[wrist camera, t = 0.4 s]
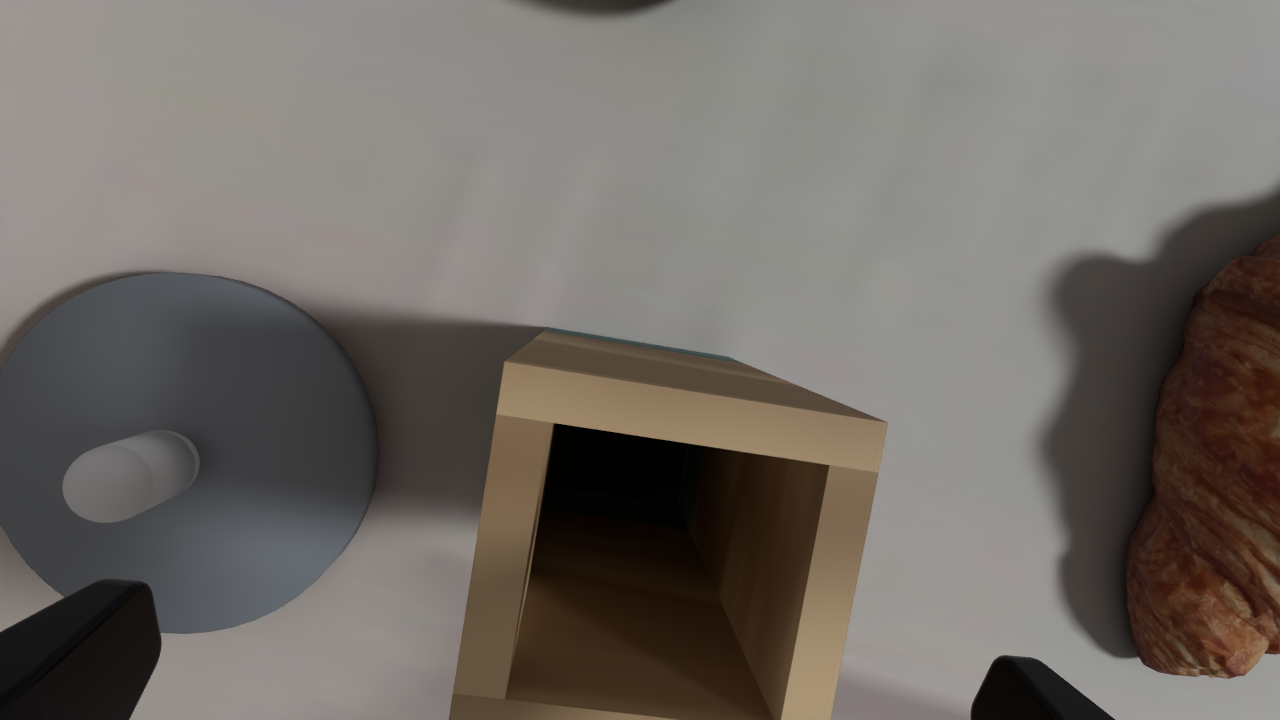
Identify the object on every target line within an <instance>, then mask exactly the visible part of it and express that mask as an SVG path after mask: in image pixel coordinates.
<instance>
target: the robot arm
mask: <svg viewBox="0 0 1280 720" xmlns="http://www.w3.org/2000/svg"><path fill="white" fill-rule="evenodd" d="M160 652H161V634H160V629H159V624H158V618H157V613H156V608H155V603H154V597H153V593H152V590H151V588H150V587H149V585H148V584H147V583H144V582H142V581H133V580H121V579H110V578H109V579H102V580H98V581H96V582H94V583H91V584H89V585H88V586H86V587H84V588H82V589H80V590H78V591H76V592H74V593H73V594H71V595H69V596H67V597H65V598H63V599H61V600H59V601H58V602H56V603H54V604H52V605H50V606H48V607H46V608H44V609H43V610H41V611H39V612H37V613H35V614H33V615H31V616H29V617H28V618H26V619H24V620H22V621H20V622H18V623H16V624H14V625H13V626H11V627H9V628H7V629H5V630H3V631H1V632H0V720H129V719H130V717H131V715H132V713H133V711H134V709H135V707H136V705H137V703H138V701H139V699H140V697H141V695H142V693H143V691H144V689H145V687H146V685H147V683H148V681H149V679H150V677H151V675H152V673H153V671H154V669H155V667H156V665H157V662H158V659H159V656H160ZM971 720H1115V719H1114V718H1112V717H1111V716H1110V715H1109V714H1107V713H1106V712H1105V711H1103V710H1102V709H1101V708H1100V707H1098V706H1097V705H1096V704H1095V703H1093V702H1092V701H1091V700H1090V699H1088V698H1087V697H1086V696H1084V695H1083V694H1082V693H1081V692H1079V691H1078V690H1077V689H1076V688H1074V687H1073V686H1072V685H1070V684H1069V683H1068V682H1067V681H1065V680H1064V679H1063V678H1062V677H1060V676H1059V675H1058V674H1057V673H1055V672H1054V671H1053V670H1051V669H1050V668H1049V667H1048V666H1046V665H1045V664H1044V663H1042V662H1041V661H1039V660H1037V659H1034V658H1031V657H1019V656H1008V655H1003V656H999V657H998V658H996V659H995V660H994V661H993V663H992V664H991V666H990V668H989V670H988V672H987V674H986V676H985V678H984V681H983V683H982V685H981V687H980V689H979V691H978V693H977V695H976V697H975V699H974V701H973V704H972V708H971Z"/></svg>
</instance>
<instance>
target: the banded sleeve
mask: <svg viewBox="0 0 1280 720" xmlns="http://www.w3.org/2000/svg"><path fill="white" fill-rule="evenodd" d="M558 424H564V425H571V426H577V427H584V428H590V429H597V430H603V431H610V432H616V433H623V434H630V435H636V436H643V437H649V438H656V439H662V440H669V441H675V442H682V443H688V449H687V455H686V461H685V466H684V472H683V478H682V483H681V489H680V495H679V500H678V505H673V504H666V503H659V502H652V501H645V500H638V499H631V498H624V497H617V496H610V495H603V494H597V493H590V492H583V491H576V490H569V489H562V488H555V487H548V480H549V474H550V468H551V462H552V456H553V450H554V443H555V437H556V431H557V425H558ZM887 427H888V422H885V421H883V420H880V419H878V418H875V417H873V416H870V415H868V414H866V413H863V412H861V411H858V410H856V409H853V408H851V407H849V406H846V405H844V404H841V403H839V402H836V401H834V400H832V399H829V398H827V397H824V396H822V395H819V394H817V393H814V392H812V391H810V390H807V389H805V388H802V387H800V386H797V385H795V384H793V383H790V382H788V381H785V380H783V379H780V378H778V377H775V376H773V375H771V374H768V373H766V372H763V371H761V370H758V369H756V368H754V367H751V366H749V365H746V364H744V363H741V362H739V361H737V360H734V359H732V358H729V357H725V356H719V355H713V354H707V353H701V352H695V351H689V350H683V349H677V348H670V347H664V346H658V345H652V344H646V343H640V342H634V341H628V340H622V339H616V338H610V337H604V336H598V335H592V334H586V333H579V332H573V331H567V330H561V329H555V328H549V327H548V328H547V329H545V330H544V331H543V332H542V333H540V334H539V335H538V336H536V337H535V338H534V339H533V340H531V341H530V342H529V343H528V344H526V345H525V346H524V347H522V348H521V349H520V350H519V351H517V352H516V353H515V354H513V355H512V356H511V357H510V358H508V359H507V360H506V361H505V362H504V368H503V374H502V380H501V387H500V393H499V400H498V406H497V413H496V419H495V426H494V432H493V438H492V445H491V451H490V458H489V464H488V471H487V477H486V484H485V490H484V496H483V503H482V509H481V516H480V522H479V529H478V535H477V542H476V548H475V554H474V561H473V567H472V574H471V580H470V587H469V593H468V600H467V606H466V612H465V619H464V625H463V632H462V638H461V645H460V651H459V658H458V664H457V670H456V677H455V683H454V690H453V696H452V703H451V709H450V716H449V720H830V717H831V712H832V706H833V701H834V696H835V691H836V686H837V681H838V676H839V671H840V666H841V661H842V656H843V651H844V645H845V640H846V635H847V630H848V625H849V620H850V615H851V610H852V605H853V600H854V595H855V590H856V584H857V579H858V574H859V569H860V564H861V559H862V554H863V549H864V544H865V539H866V534H867V528H868V523H869V518H870V513H871V508H872V503H873V498H874V493H875V488H876V483H877V478H878V473H879V467H880V462H881V457H882V452H883V447H884V442H885V437H886V432H887Z"/></svg>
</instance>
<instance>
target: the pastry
mask: <svg viewBox="0 0 1280 720" xmlns="http://www.w3.org/2000/svg"><path fill="white" fill-rule="evenodd" d="M1194 300H1195V301H1194V307H1193V309H1192V311H1191V312H1190V314H1189V316H1188V318H1187V321H1186V325H1185V329H1184V338H1185V341H1184V345H1183V348H1182V351H1181V354H1180V357H1179V358H1178V360H1177V361H1176V363H1175V365H1174V366H1173V367H1172V368H1171V369H1170V371H1169V373H1168V374H1167V376H1166V378H1165V379H1164V382H1163V385H1162V387H1161V388H1160V390H1159V396H1158V400H1157V403H1156V425H1155V429H1154V433H1155V441H1154V444H1153V452H1152V456H1151V463H1152V483H1153V486H1154V495H1153V497H1152V498H1151V499H1150V501H1149V502H1148V503H1147V505H1146V506H1145V508H1144V513H1143V515H1142V516H1141V518H1140V519H1139V521H1138V525H1137V527H1136V529H1135V531H1134V532H1133V533H1132V534H1131V535H1130V539H1129V543H1128V549H1127V561H1126V571H1127V581H1126V588H1127V602H1126V606H1127V609H1128V613H1129V616H1130V626H1131V629H1132V635H1131V639H1132V641H1133V644H1134V645H1135V646H1136V648H1137V654H1138V656H1139V658H1140V659H1141V661H1142V663H1143V664H1144V665H1146V666H1147V667H1149V668H1151V669H1153V670H1155V671H1157V672H1161V673H1166V674H1171V675H1182V676H1193V677H1198V676H1200V675H1208V676H1209V677H1210V678H1213V677H1220V678H1227V679H1230V678H1233V677H1236V676H1244V675H1245V674H1246V673H1247V672H1249V671H1250V670H1251V669H1252V668H1253V667H1254V666H1255V665H1256V664H1257V662H1258V661H1259V660H1260V658H1261V657H1262V656H1263V654H1264V653H1265V654H1274V655H1275V654H1280V234H1278V235H1277V236H1275V237H1273V238H1272V239H1270V240H1268V241H1266V242H1264V243H1263V244H1261V245H1259V246H1258V247H1257V248H1256V249H1255V251H1254V252H1253V253H1252V255H1251V256H1240V257H1236V258H1234V259H1233V260H1232V261H1231V262H1230V263H1229V264H1228V265H1226V266H1225V267H1224V268H1223V269H1222V270H1221V271H1220V272H1219V273H1218V274H1217V276H1214V277H1213V278H1212V279H1211V280H1210V281H1209V282H1208V284H1207V285H1206V286H1204V287H1203V288H1201V289H1200V290H1199V291H1198V292H1197V293H1196V294H1195V297H1194Z"/></svg>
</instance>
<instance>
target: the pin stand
mask: <svg viewBox="0 0 1280 720" xmlns="http://www.w3.org/2000/svg"><path fill="white" fill-rule="evenodd" d="M377 464H378V439H377V427H376V423H375V418H374V413H373V408H372V405H371V402H370V399H369V396H368V394H367V391H366V388H365V385H364V383H363V381H362V380H361V378H360V376H359V374H358V372H357V370H356V368H355V366H354V364H353V363H352V361H351V360H350V358H349V357H348V356H347V354H346V353H345V351H344V350H343V348H342V347H341V346H340V345H339V343H338V342H337V341H336V340H335V339H334V338H333V337H332V336H331V335H330V333H329V332H328V331H327V330H326V329H325V328H324V327H323V326H321V325H320V324H319V323H318V322H317V321H316V320H315V319H313V318H312V317H311V316H310V315H309V314H308V313H306V312H305V311H303V310H302V309H300V308H298V307H297V306H295V305H294V304H292V303H291V302H289V301H288V300H286V299H284V298H282V297H280V296H278V295H276V294H274V293H272V292H270V291H268V290H266V289H263V288H260V287H257V286H254V285H252V284H249V283H246V282H243V281H238V280H234V279H229V278H224V277H220V276H209V275H198V274H183V273H157V274H144V275H137V276H131V277H125V278H121V279H117V280H114V281H111V282H107V283H104V284H101V285H98V286H95V287H93V288H91V289H89V290H86V291H84V292H82V293H80V294H78V295H75V296H74V297H72V298H70V299H69V300H67V301H66V302H64V303H62V304H61V305H59V306H58V307H56V308H54V309H53V310H52V311H51V312H50V313H48V314H47V315H46V316H45V317H44V318H42V319H41V320H40V321H39V322H38V323H36V324H35V325H34V326H33V327H32V328H31V330H30V331H29V332H28V333H27V334H26V335H25V336H24V337H23V338H22V340H21V341H20V342H19V343H18V344H17V346H16V347H15V349H14V350H13V352H12V353H11V355H10V356H9V358H8V359H7V361H6V362H5V364H4V366H3V368H2V370H1V372H0V523H1V525H2V527H3V529H4V531H5V532H6V534H7V536H8V537H9V539H10V541H11V542H12V544H13V546H14V547H15V549H16V550H17V551H18V552H19V554H20V555H21V556H22V558H23V559H24V560H25V561H26V563H27V564H28V565H29V566H30V567H31V568H32V569H33V570H34V571H35V572H36V573H37V574H38V575H39V576H40V577H41V578H42V579H43V580H44V581H45V582H46V583H47V584H48V585H49V586H51V587H52V588H53V589H55V590H56V591H57V592H59V593H60V594H61V595H62V596H64V597H67V596H69V595H71V594H73V593H74V592H76V591H78V590H80V589H82V588H84V587H86V586H88V585H89V584H91V583H94V582H96V581H98V580H102V579H109V578H110V579H121V580H133V581H142V582H144V583H147V584H148V585H149V587H150V588H151V590H152V593H153V597H154V603H155V608H156V613H157V618H158V624H159V629H160V633H178V634H188V633H202V632H211V631H216V630H222V629H227V628H232V627H235V626H238V625H241V624H244V623H247V622H250V621H253V620H256V619H258V618H260V617H262V616H265V615H267V614H269V613H271V612H273V611H275V610H277V609H279V608H280V607H282V606H283V605H285V604H287V603H288V602H290V601H291V600H293V599H294V598H296V597H297V596H298V595H300V594H301V593H302V592H303V591H304V590H306V589H307V588H308V587H309V586H310V585H312V584H313V583H314V582H315V581H316V580H317V579H318V578H319V577H320V576H321V575H322V574H323V573H324V572H325V570H326V569H327V568H328V567H329V566H330V565H331V564H332V563H333V562H334V561H335V560H336V559H337V558H338V556H339V555H340V554H341V553H342V552H343V551H344V549H345V548H346V547H347V545H348V544H349V542H350V541H351V539H352V538H353V536H354V535H355V534H356V532H357V530H358V528H359V526H360V524H361V522H362V520H363V518H364V516H365V514H366V511H367V508H368V506H369V503H370V500H371V497H372V494H373V490H374V485H375V480H376V475H377Z"/></svg>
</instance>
